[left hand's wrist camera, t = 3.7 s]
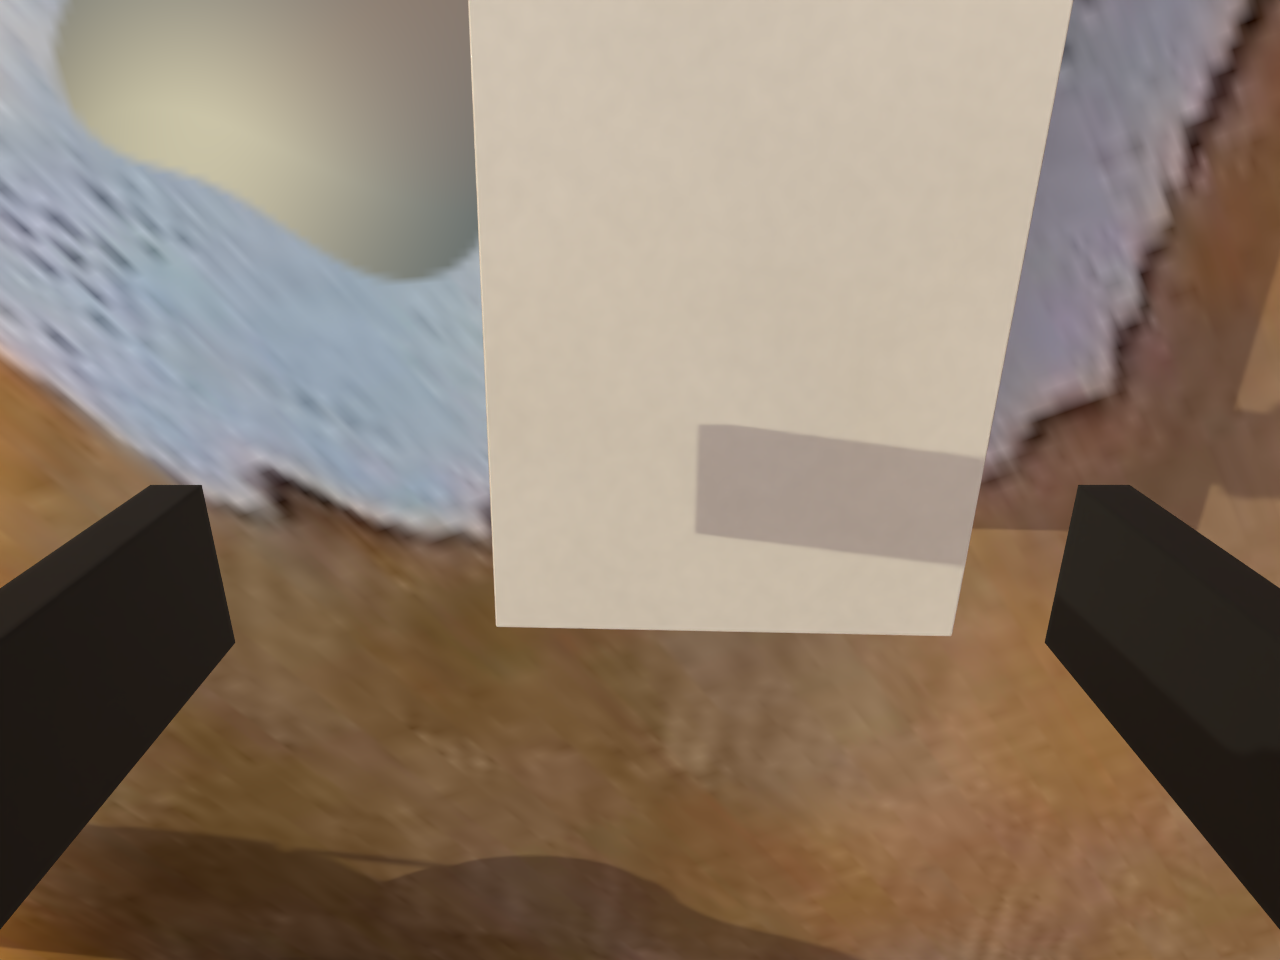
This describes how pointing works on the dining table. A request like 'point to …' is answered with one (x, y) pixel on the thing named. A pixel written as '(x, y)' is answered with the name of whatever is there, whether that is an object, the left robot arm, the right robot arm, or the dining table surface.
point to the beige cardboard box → (749, 300)
